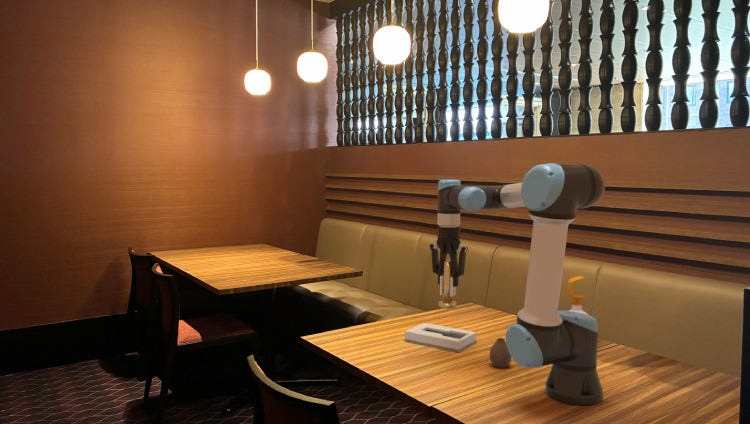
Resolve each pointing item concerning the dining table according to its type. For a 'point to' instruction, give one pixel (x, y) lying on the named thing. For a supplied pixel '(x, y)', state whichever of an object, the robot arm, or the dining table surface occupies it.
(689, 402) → the dining table surface
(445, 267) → the peg
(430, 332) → the board
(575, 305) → the soap bottle
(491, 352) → the vase
